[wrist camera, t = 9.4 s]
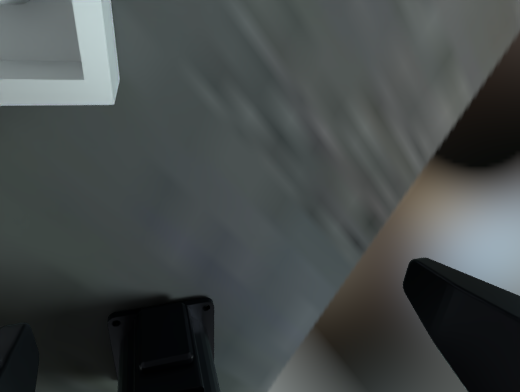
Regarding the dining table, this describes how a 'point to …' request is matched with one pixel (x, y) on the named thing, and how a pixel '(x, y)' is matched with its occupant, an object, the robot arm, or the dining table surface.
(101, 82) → the white open box
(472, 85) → the dining table surface
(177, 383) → the robot arm
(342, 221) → the dining table surface
